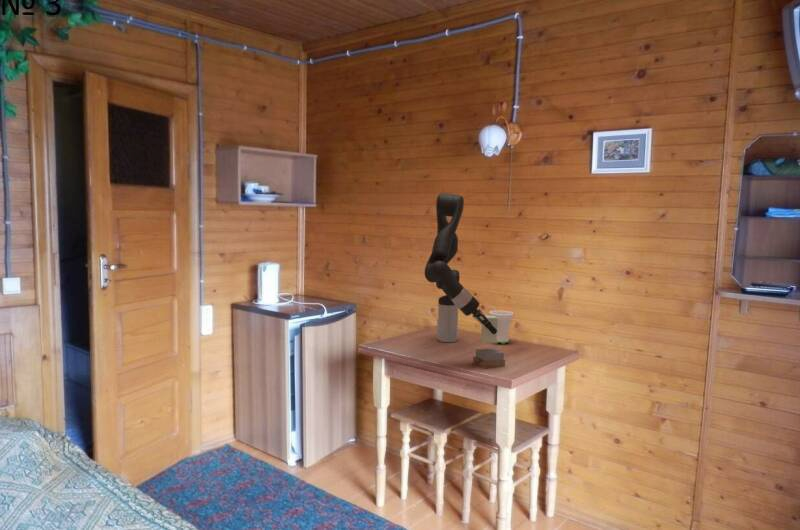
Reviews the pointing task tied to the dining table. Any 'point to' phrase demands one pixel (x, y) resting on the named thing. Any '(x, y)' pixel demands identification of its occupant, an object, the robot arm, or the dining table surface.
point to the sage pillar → (486, 334)
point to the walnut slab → (488, 363)
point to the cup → (502, 324)
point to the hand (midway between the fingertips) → (493, 331)
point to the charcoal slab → (489, 354)
